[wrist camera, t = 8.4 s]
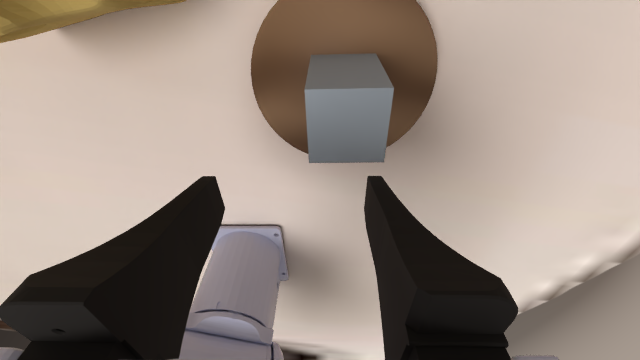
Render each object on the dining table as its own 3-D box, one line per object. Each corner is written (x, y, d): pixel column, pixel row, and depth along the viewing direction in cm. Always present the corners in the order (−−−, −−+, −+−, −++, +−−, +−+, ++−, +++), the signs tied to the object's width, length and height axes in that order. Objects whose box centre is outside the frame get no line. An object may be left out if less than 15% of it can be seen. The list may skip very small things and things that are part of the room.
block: (370, 114, 20) (383, 162, 15) (313, 115, 20) (309, 162, 15) (375, 53, 17) (394, 87, 12) (310, 54, 17) (304, 89, 12)
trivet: (412, 149, 23) (417, 159, 22) (268, 150, 23) (265, 160, 22) (451, -35, 16) (461, -35, 14) (239, -28, 16) (232, -28, 15)
